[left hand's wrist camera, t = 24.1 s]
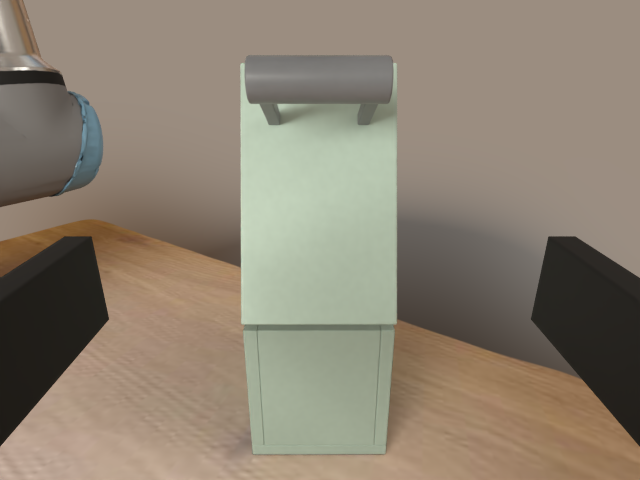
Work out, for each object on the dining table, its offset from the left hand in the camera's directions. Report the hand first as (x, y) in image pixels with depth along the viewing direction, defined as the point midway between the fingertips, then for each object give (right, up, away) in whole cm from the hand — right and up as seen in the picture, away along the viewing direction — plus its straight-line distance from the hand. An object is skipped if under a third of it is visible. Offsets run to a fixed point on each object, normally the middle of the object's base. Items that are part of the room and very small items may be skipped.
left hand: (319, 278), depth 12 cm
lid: (0, +4, +13) cm, 14 cm away
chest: (0, -11, +24) cm, 26 cm away
